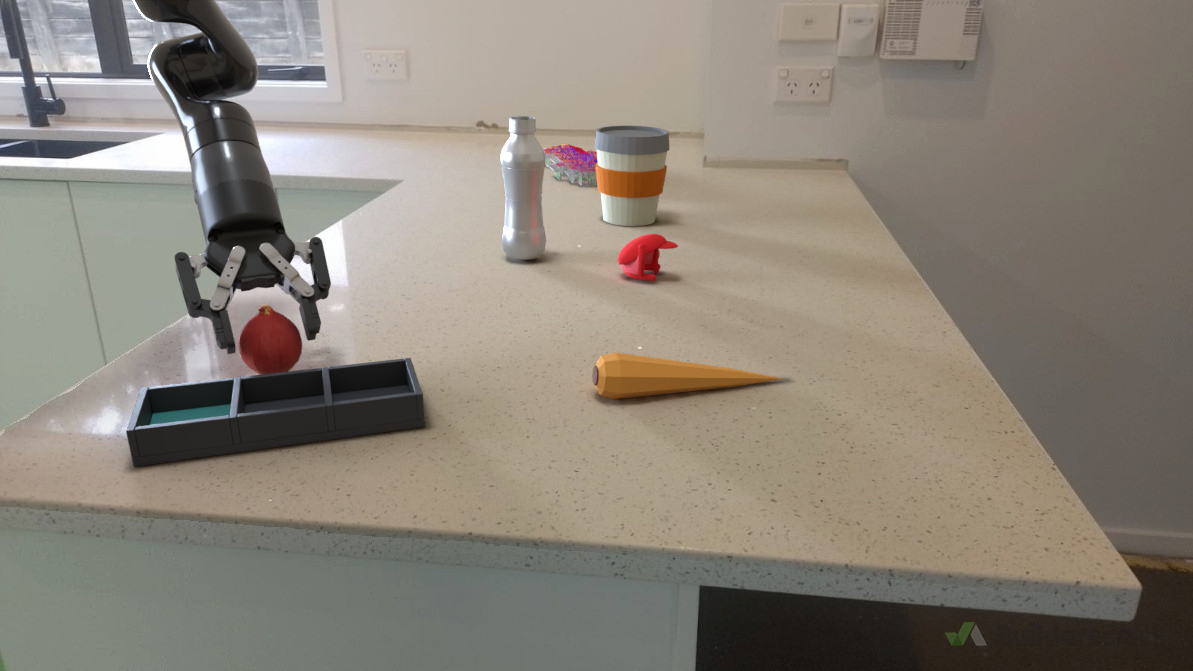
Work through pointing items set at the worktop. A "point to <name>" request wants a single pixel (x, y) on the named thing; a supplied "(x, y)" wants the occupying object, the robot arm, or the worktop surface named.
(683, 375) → the carrot
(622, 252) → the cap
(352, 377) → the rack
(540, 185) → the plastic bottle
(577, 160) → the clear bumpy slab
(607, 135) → the reusable coffee cup
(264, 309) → the onion
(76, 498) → the worktop surface
